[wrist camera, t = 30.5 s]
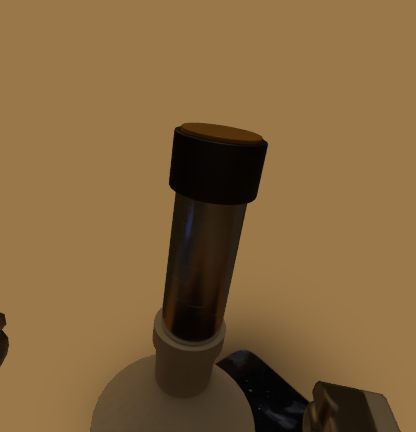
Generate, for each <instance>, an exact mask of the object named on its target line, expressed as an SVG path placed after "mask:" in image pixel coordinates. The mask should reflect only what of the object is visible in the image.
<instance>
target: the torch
mask: <svg viewBox="0 0 416 432" xmlns="http://www.w3.org/2000/svg"><path fill="white" fill-rule="evenodd" d="M267 147H268V143H267V142H266V141H265V140H263V138H262V136H260V135H258V134H256V133H253V132H250V131H246V130H242V129H238V128H233V127H228V126H222V125H215V124H205V123H185V124H182V125H181V126H180V127H176V128H175V130H174V139H173V148H172V159H171V168H170V177H169V185H170V187H171V188H172V189H173V190H174V191H175V192H176V194H175V203H174V212H173V221H172V229H171V238H170V247H169V256H168V265H167V273H166V283H165V291H164V300H163V308H162V317H161V325H162V328H163V330H164V332H165V333H166V334H167V335H168V336H169V337H170V338H171V339H173V340H174V341H176V342H178V343H181V344H184V345H190V346H199V345H204V344H207V343H210V342H211V341H213V340H214V339H215V338H216V337H217V336H218V335H219V333H220V331H221V327H222V322H223V317H224V312H225V307H226V303H227V297H228V293H229V288H230V284H231V279H232V274H233V269H234V264H235V260H236V255H237V250H238V245H239V240H240V235H241V230H242V226H243V221H244V216H245V211H246V207H247V203H250V202H252V201H253V200H255V198H256V196H257V193H258V188H259V183H260V179H261V174H262V170H263V165H264V161H265V156H266V151H267Z"/></svg>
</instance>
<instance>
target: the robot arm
mask: <svg viewBox="0 0 416 432" xmlns="http://www.w3.org/2000/svg"><path fill="white" fill-rule="evenodd" d="M5 325H6V320H5V315H4V314H3V313H0V366H1V365H2V363H3V361H4V358H5V357H6V355H7V352H8V346H9V342H8V337H7V336H6V334H5V333H4V332H3V331H2V329H3V327H4V326H5ZM313 398H314V401H312V402H310V403H308V404H307V407H306V410H305V413H304V419H303V432H401V431H400V429H399V427H398V425H397V422H396V420H395V418H394V415H393V413H392V411H391V408H390V406H389V404H388V402H387V399H386V398H385V397H384V396H383V395H382V394H379V393H374V392H369V391H364V390H359V389H355V388H350V387H346V386H341V385H336V384H331V383H326V382H321V381H318V382H317V383H316V384H315V386H314V388H313Z"/></svg>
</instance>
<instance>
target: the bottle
mask: <svg viewBox="0 0 416 432" xmlns="http://www.w3.org/2000/svg"><path fill="white" fill-rule="evenodd" d="M162 308H163V307H162ZM162 308H161V309H160V310H159V311H158V313H157V315H156V316H155V320H154V330H153V344H154V347H155V349H156V355H152V356H149V357H146V358H143V359H140V360H138V361H136V362H135V363H133V364H131V365H129V366H128V367H126V368H125V369H123V370H122V371H121V372H119V373H118V374H117V375H116V376H115V377H114V378H113V379H112V380H111V381H110V383H108V385H107V386H106V388H105V389H104V391H103V393H102V394H101V395H100V397H99V399H98V402H97V404H96V407H95V409H94V412H93V416H92V422H91V428H90V432H255V427H254V419H253V415H252V412H251V408H250V405H249V403H248V401H247V399H246V397H245V395H244V393H243V391H242V390H241V389H240V387H239V386H238V385H237V383H236V382H235V381H234V380H233V379H232V378H231V377H230V376H229V375H228V374H227V373H226V372H225V371H223V370H222V369H221V368H219V367H218V366H216V365H215V364H214V360H215V359H216V358H217V357H218V356H219V354H220V352H221V350H222V346H223V342H224V337H225V333H226V324H225V321H224V319H223V322H222V327H221V331H220V333H219V335H218V336H217V337H216V338H215V339H214V340H213V341H211V342H210V343H207V344H204V345H199V346H190V345H184V344H181V343H178V342H176V341H174V340H173V339H171V338H170V337H169V336H168V335H167V334H166V333H165V332H164V330H163V328H162V325H161V317H162Z"/></svg>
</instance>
